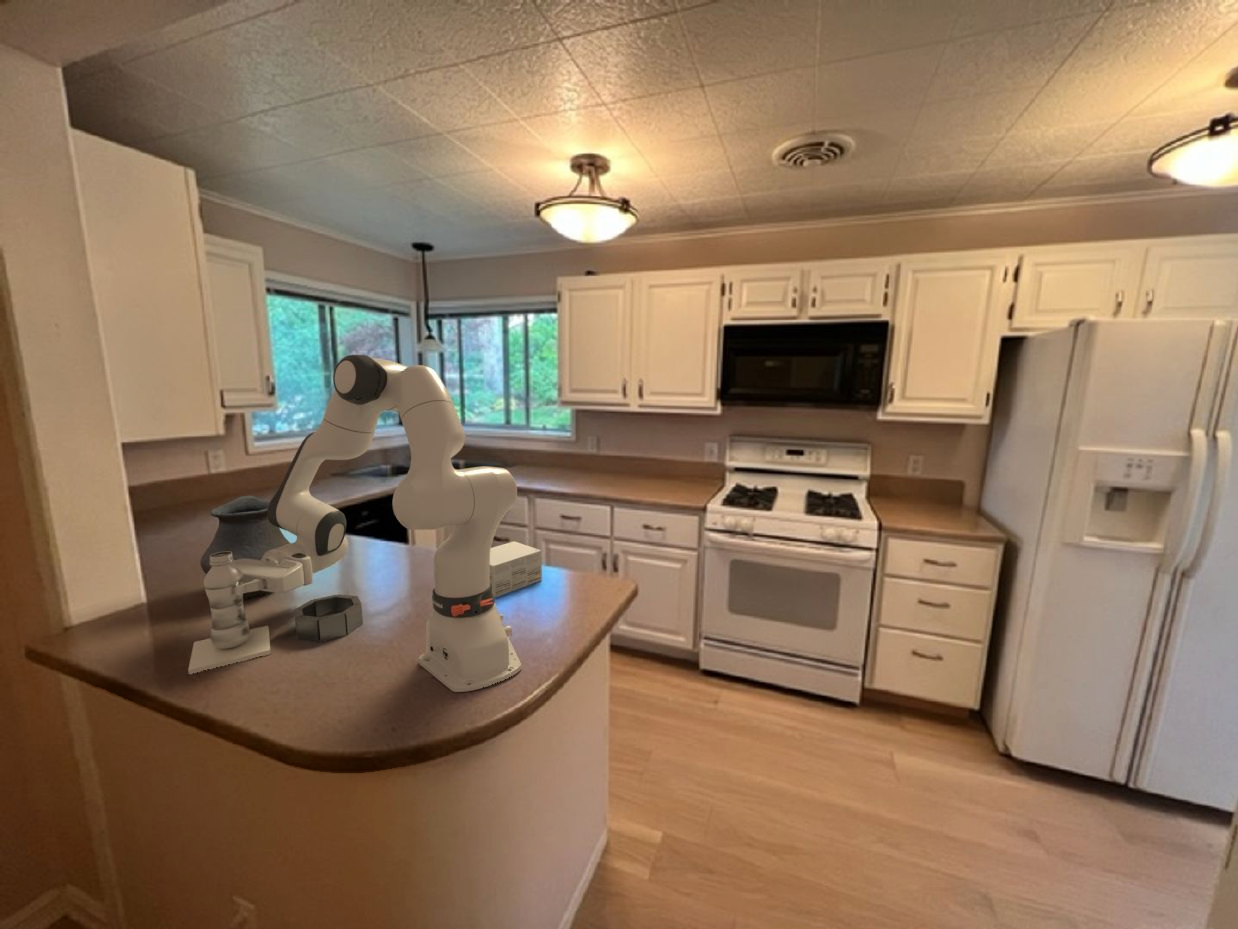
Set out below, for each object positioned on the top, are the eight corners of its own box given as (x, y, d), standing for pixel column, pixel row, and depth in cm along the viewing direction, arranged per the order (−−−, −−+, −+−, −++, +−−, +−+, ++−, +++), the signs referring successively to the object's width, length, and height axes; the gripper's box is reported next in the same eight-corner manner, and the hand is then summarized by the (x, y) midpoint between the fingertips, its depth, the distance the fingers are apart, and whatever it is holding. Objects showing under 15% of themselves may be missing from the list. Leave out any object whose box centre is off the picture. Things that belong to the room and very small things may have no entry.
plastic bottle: (259, 638, 108) (249, 550, 105) (229, 655, 101) (218, 561, 98) (234, 635, 109) (223, 547, 106) (203, 651, 103) (191, 558, 99)
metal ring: (366, 630, 115) (364, 609, 114) (299, 647, 107) (296, 625, 106) (356, 609, 125) (354, 590, 124) (294, 623, 117) (292, 603, 117)
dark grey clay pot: (202, 615, 121) (189, 515, 117) (207, 586, 138) (197, 498, 134) (302, 595, 133) (293, 504, 129) (296, 570, 150) (288, 489, 146)
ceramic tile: (270, 654, 104) (270, 649, 104) (188, 674, 96) (188, 670, 96) (268, 629, 114) (268, 625, 114) (194, 646, 107) (194, 642, 107)
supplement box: (514, 569, 154) (514, 540, 152) (542, 581, 145) (542, 550, 144) (466, 585, 141) (464, 553, 140) (493, 598, 133) (492, 565, 131)
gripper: (246, 548, 118) (181, 568, 105) (315, 557, 112) (256, 580, 99) (249, 573, 119) (185, 597, 106) (318, 584, 113) (259, 610, 100)
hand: (220, 589), depth 102 cm, fingers closed on plastic bottle, 6 cm apart
